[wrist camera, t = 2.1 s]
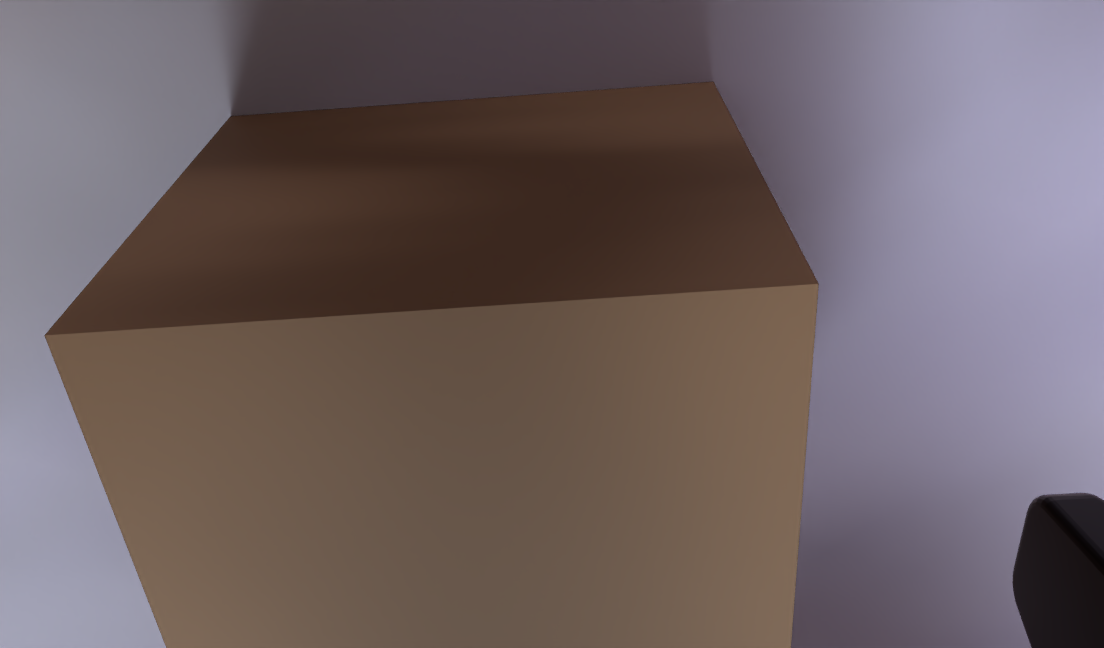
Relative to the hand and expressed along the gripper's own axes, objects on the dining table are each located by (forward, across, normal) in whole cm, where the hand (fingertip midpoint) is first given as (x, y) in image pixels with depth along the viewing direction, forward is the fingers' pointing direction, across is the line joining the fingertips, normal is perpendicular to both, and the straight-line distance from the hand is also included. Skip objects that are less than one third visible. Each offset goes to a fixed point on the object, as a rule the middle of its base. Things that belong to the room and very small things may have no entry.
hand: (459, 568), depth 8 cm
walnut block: (+4, 0, 0) cm, 4 cm away
